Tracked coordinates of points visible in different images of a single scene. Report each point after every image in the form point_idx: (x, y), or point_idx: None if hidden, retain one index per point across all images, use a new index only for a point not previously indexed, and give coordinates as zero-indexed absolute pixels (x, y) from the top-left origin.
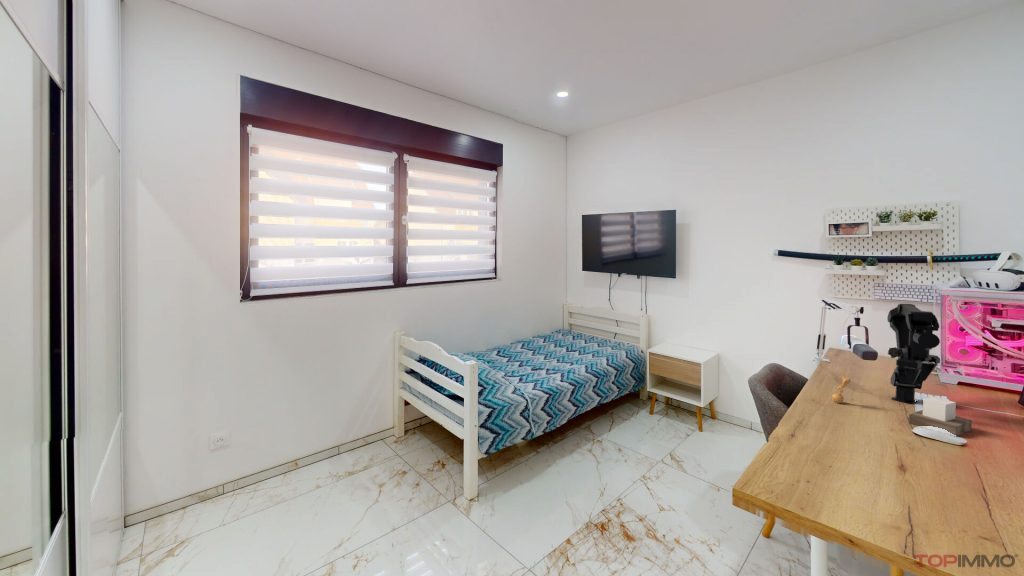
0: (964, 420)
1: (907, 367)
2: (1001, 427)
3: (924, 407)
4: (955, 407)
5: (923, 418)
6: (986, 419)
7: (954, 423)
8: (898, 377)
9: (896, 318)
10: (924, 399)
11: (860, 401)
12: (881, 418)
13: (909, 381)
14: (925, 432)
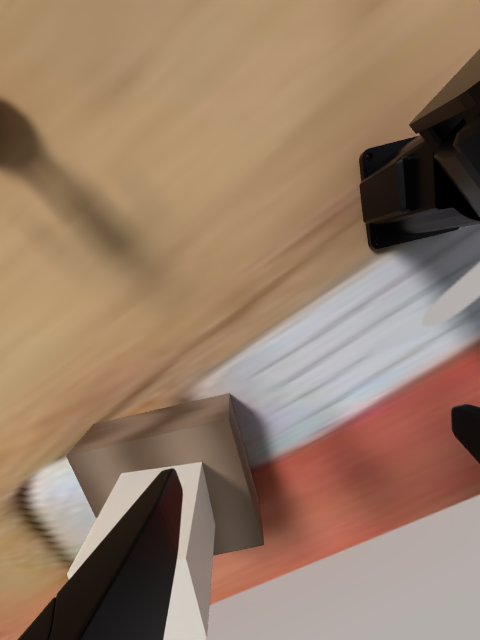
0: (231, 542)
1: None
2: (387, 507)
3: (101, 519)
4: (209, 593)
5: (87, 495)
6: (440, 452)
7: None
8: (471, 133)
9: None
10: (69, 577)
11: (142, 134)
12: (27, 361)
13: (147, 501)
14: (72, 491)
